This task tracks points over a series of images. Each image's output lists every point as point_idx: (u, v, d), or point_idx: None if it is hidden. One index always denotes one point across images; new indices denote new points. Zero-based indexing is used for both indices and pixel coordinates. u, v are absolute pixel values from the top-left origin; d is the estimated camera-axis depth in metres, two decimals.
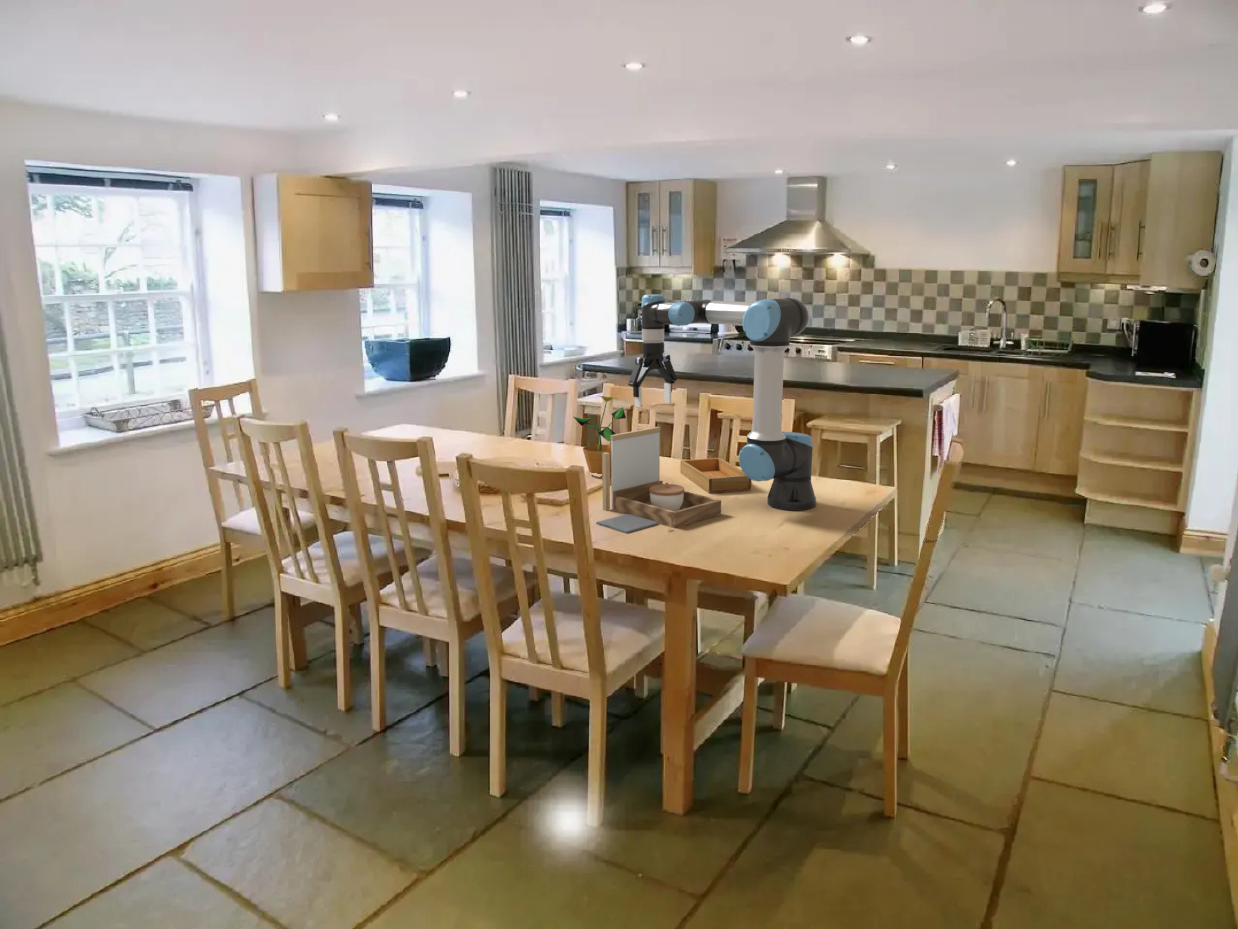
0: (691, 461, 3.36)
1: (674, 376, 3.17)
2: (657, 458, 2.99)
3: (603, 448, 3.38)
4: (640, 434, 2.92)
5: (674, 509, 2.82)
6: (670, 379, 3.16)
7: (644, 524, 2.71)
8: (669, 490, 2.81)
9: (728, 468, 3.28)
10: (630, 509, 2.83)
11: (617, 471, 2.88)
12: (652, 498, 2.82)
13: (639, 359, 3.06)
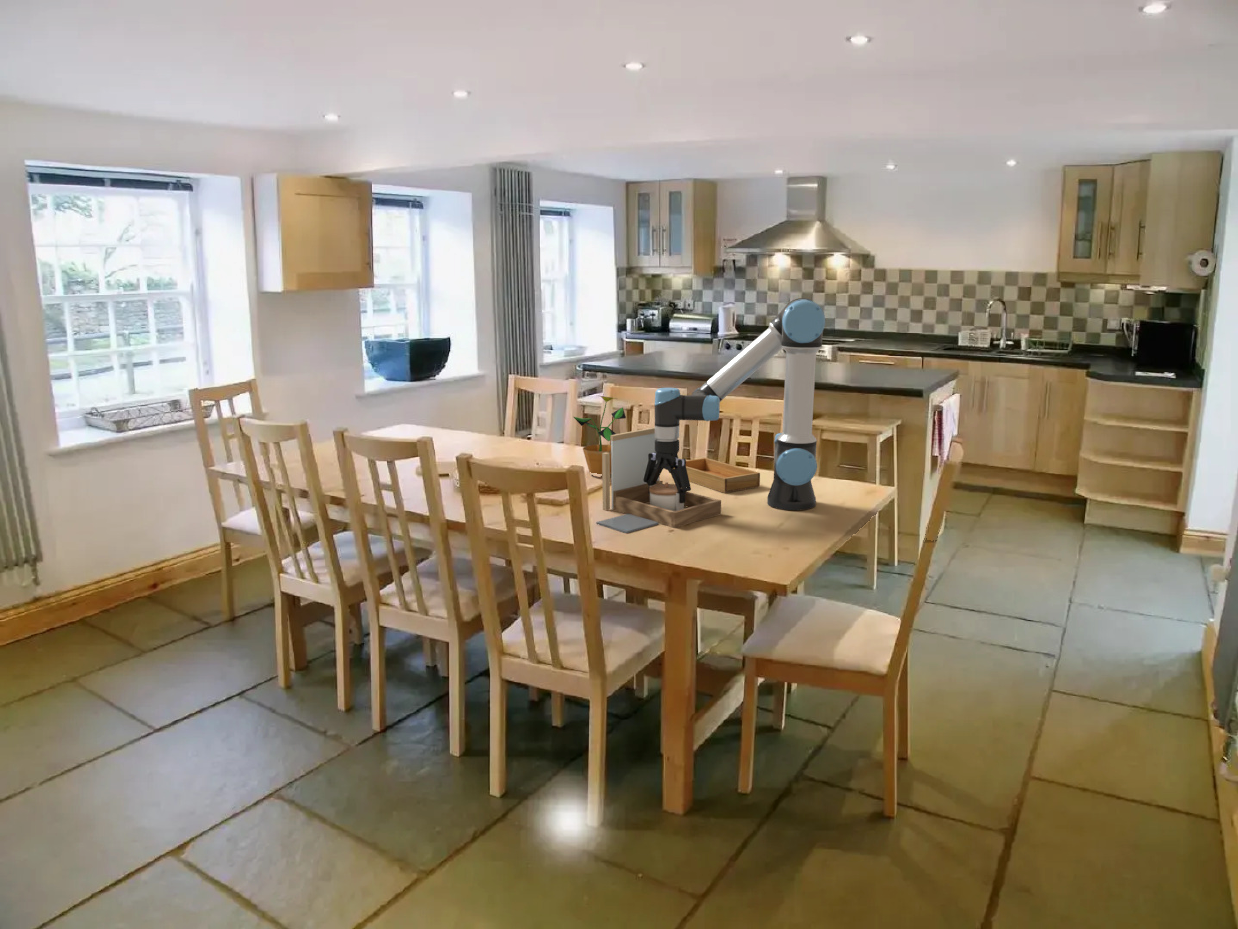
0: None
1: (682, 486, 2.77)
2: None
3: (603, 448, 3.38)
4: (640, 434, 2.92)
5: (674, 509, 2.82)
6: (678, 487, 2.79)
7: (644, 524, 2.71)
8: (669, 490, 2.81)
9: (723, 467, 3.29)
10: (630, 509, 2.83)
11: (617, 471, 2.88)
12: (652, 498, 2.82)
13: None
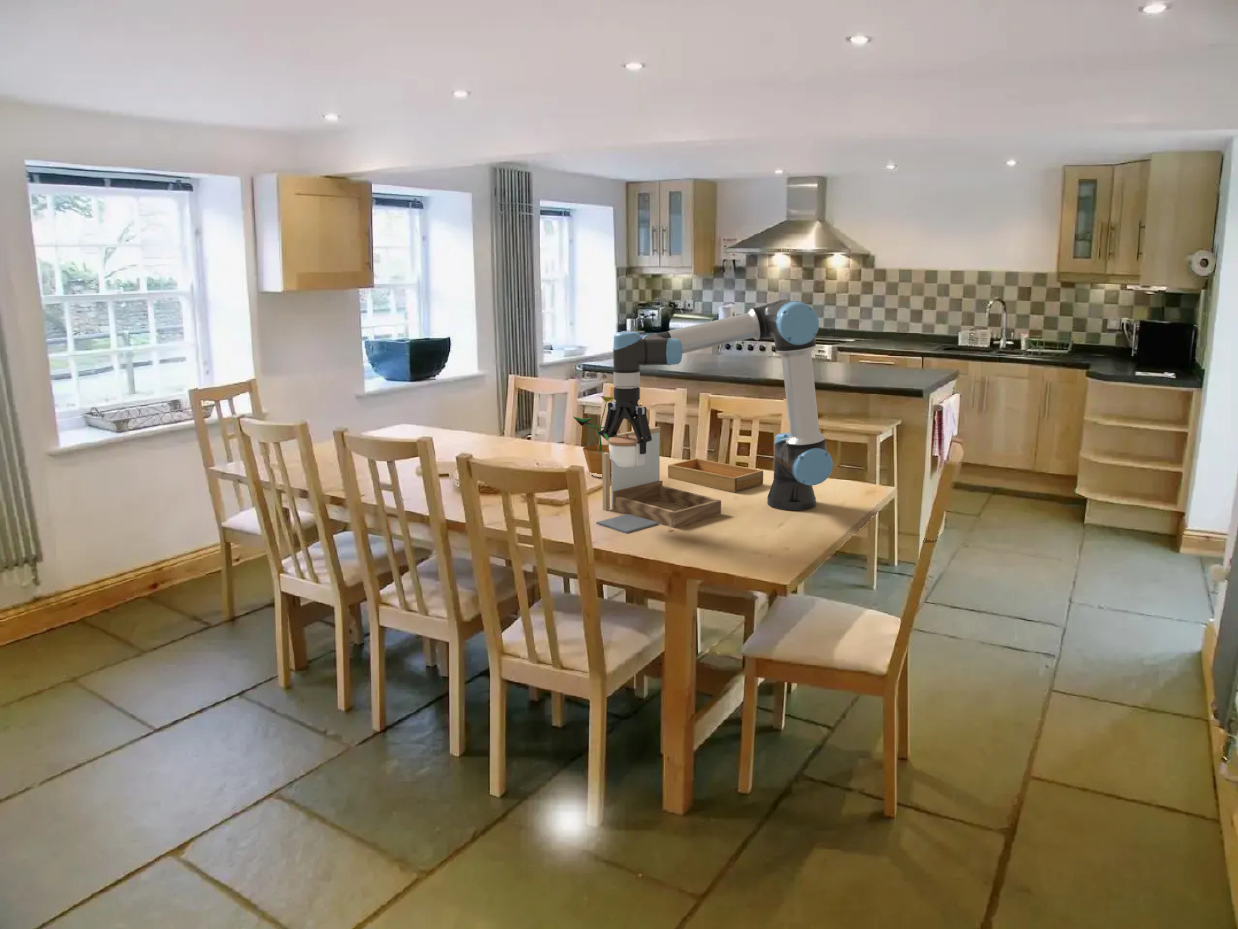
0: (677, 464, 3.31)
1: (643, 436, 2.61)
2: (657, 458, 2.99)
3: (603, 448, 3.38)
4: None
5: (634, 461, 2.66)
6: (638, 438, 2.63)
7: (644, 524, 2.71)
8: (629, 440, 2.65)
9: (719, 467, 3.30)
10: (630, 509, 2.83)
11: (617, 471, 2.88)
12: (611, 449, 2.66)
13: None
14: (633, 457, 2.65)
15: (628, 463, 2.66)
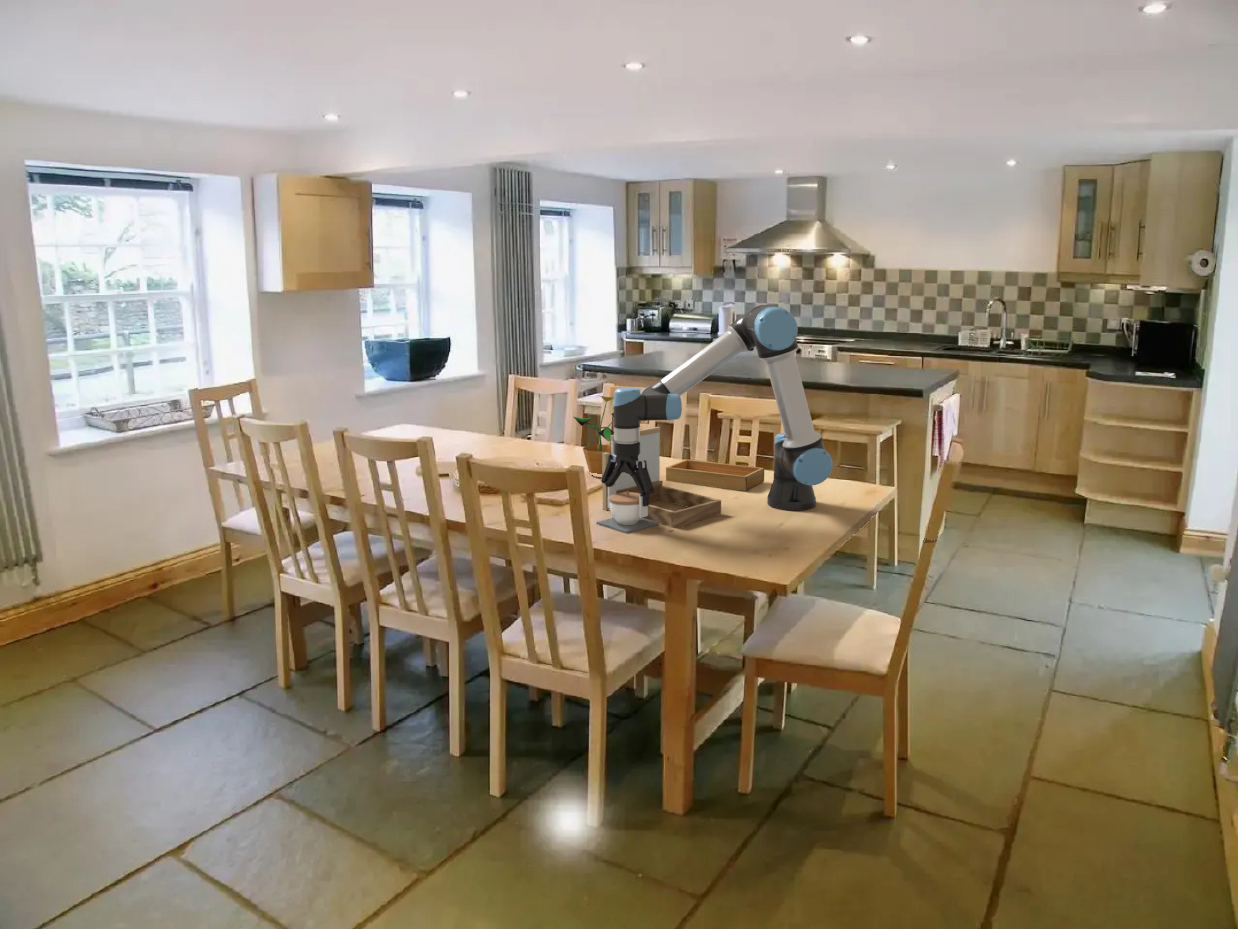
0: (673, 466, 3.28)
1: (645, 489, 2.64)
2: (657, 458, 2.99)
3: (603, 448, 3.38)
4: (640, 434, 2.92)
5: (635, 519, 2.70)
6: (640, 490, 2.65)
7: (644, 524, 2.71)
8: (629, 499, 2.69)
9: (714, 467, 3.30)
10: None
11: None
12: (612, 507, 2.70)
13: None
14: (633, 515, 2.69)
15: (628, 521, 2.70)
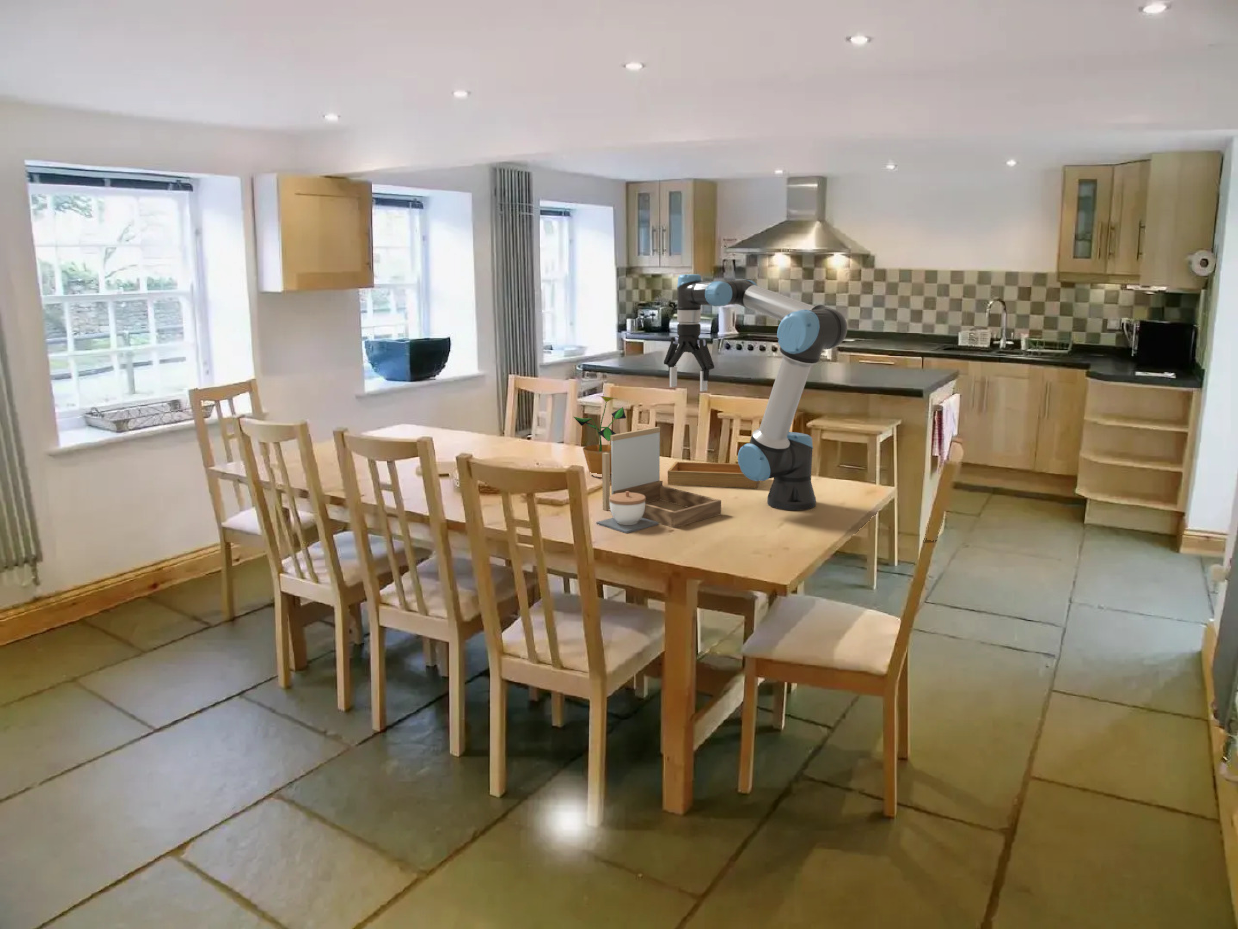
0: (672, 469, 3.23)
1: (706, 364, 2.94)
2: (657, 458, 2.99)
3: (603, 448, 3.38)
4: (640, 434, 2.92)
5: (635, 519, 2.70)
6: (702, 366, 2.95)
7: (644, 524, 2.71)
8: (629, 499, 2.69)
9: (707, 467, 3.30)
10: None
11: (617, 471, 2.88)
12: (612, 507, 2.70)
13: None
14: (633, 515, 2.69)
15: (628, 521, 2.70)
